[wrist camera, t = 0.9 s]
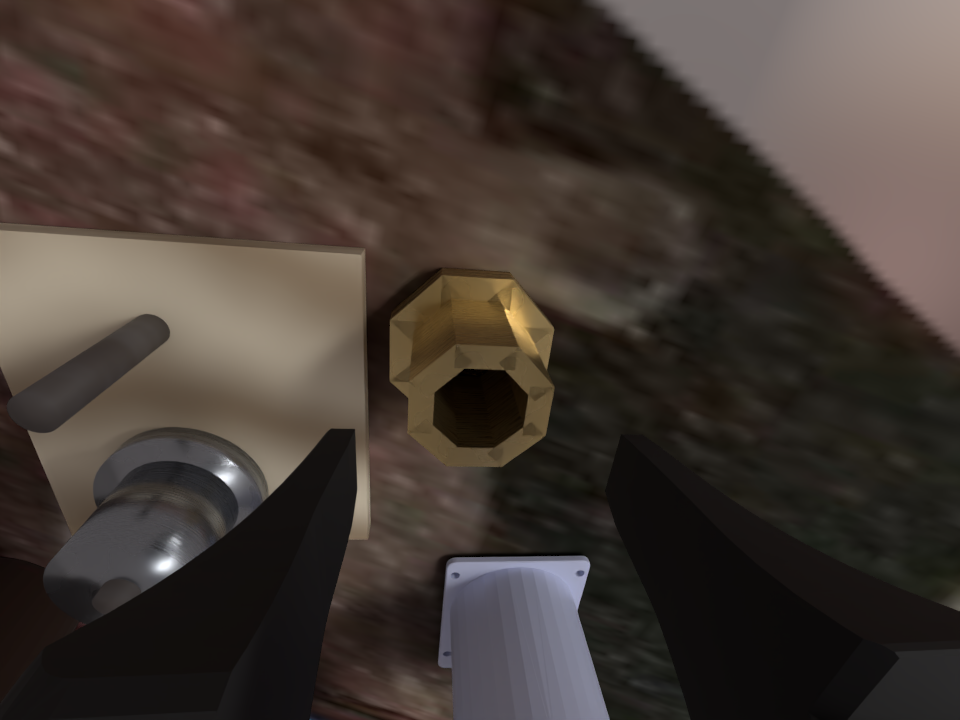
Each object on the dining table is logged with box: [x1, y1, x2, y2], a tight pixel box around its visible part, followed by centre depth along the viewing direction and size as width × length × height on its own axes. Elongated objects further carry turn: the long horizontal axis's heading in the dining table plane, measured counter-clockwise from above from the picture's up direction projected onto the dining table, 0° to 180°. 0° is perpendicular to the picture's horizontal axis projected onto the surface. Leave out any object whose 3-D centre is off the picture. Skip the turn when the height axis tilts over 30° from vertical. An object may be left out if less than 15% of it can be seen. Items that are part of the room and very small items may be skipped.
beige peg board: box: [0, 223, 371, 614], centre depth 16 cm, size 14×13×6 cm
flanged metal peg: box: [43, 427, 269, 624], centre depth 18 cm, size 6×6×5 cm
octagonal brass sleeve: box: [390, 268, 555, 467], centre depth 17 cm, size 6×6×5 cm
